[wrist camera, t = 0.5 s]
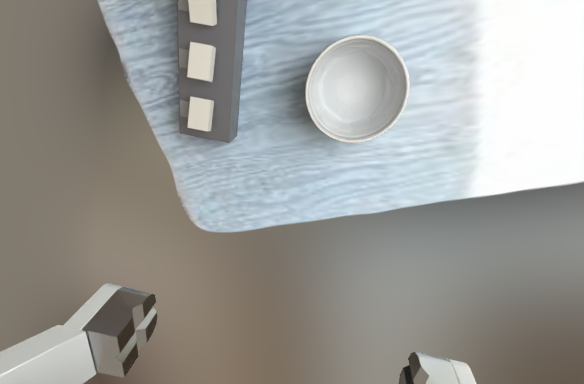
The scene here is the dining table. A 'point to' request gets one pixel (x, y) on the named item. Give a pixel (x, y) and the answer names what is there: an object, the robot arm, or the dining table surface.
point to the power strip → (226, 67)
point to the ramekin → (357, 88)
